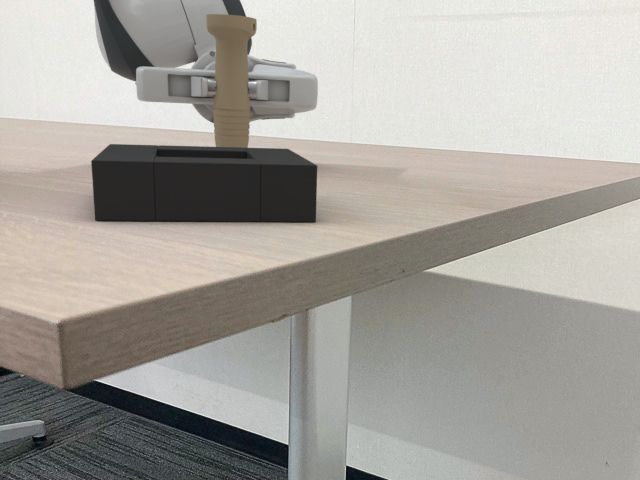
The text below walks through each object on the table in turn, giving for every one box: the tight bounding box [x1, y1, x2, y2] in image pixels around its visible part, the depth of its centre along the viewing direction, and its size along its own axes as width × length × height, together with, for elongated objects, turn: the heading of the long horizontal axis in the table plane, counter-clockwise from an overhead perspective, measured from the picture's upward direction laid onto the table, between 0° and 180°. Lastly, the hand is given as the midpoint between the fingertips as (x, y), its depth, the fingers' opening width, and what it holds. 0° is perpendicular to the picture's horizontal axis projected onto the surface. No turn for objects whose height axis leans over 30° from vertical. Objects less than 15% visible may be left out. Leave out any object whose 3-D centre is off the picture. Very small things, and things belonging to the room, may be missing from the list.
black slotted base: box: [90, 143, 318, 223], centre depth 60 cm, size 15×15×4 cm
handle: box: [206, 14, 258, 148], centre depth 82 cm, size 5×6×15 cm
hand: (232, 88), depth 81 cm, fingers closed on handle, 3 cm apart
